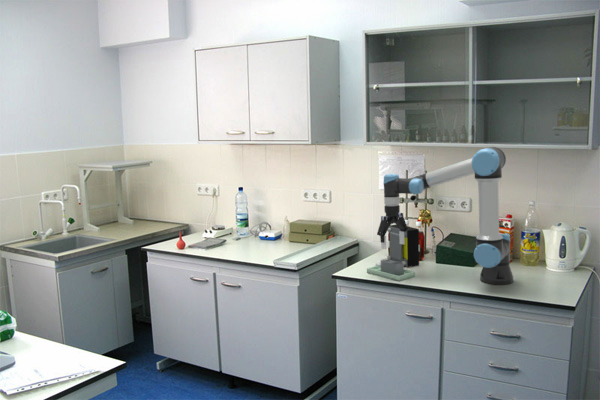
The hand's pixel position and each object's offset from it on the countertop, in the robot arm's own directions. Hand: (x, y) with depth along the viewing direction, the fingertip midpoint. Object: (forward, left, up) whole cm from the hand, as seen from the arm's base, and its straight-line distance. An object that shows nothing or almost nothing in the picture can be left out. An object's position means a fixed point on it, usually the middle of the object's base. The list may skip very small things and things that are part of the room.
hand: (393, 246), depth 285 cm
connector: (+2, 0, -14) cm, 15 cm away
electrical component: (+13, -22, -15) cm, 30 cm away
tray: (+2, 0, -15) cm, 15 cm away
